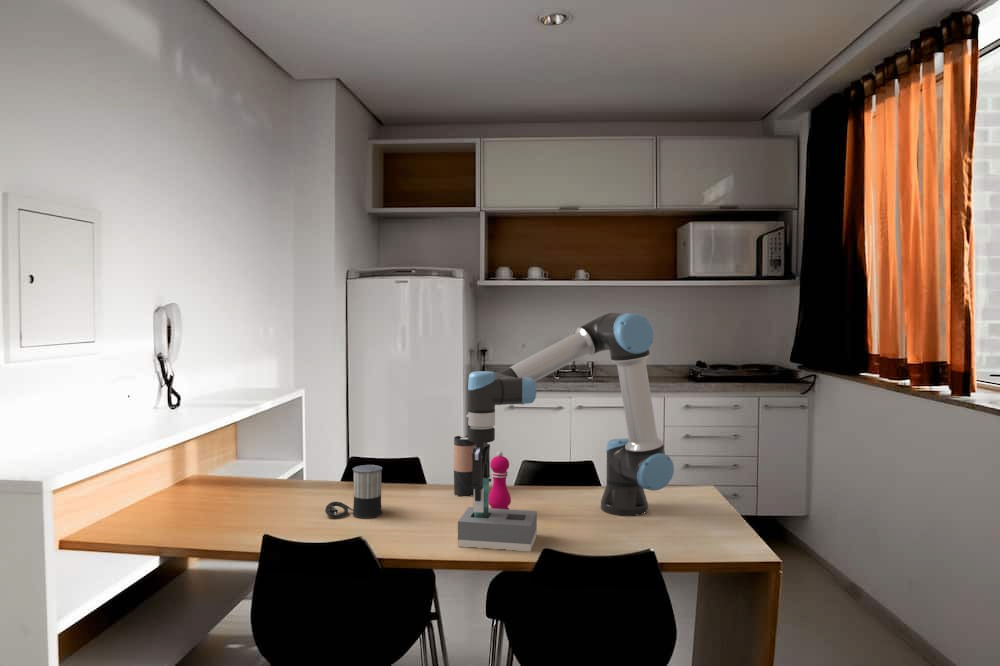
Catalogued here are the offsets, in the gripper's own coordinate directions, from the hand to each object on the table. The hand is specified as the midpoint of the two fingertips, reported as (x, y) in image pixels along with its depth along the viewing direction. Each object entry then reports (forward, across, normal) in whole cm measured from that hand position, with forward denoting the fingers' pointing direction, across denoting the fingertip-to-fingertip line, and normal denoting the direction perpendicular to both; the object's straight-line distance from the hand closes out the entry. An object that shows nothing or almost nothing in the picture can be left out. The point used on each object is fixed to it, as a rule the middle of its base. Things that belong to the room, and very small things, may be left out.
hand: (480, 508), depth 197 cm
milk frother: (+9, -15, -44) cm, 47 cm away
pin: (+7, 0, 0) cm, 7 cm away
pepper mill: (+9, -25, +1) cm, 27 cm away
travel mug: (+9, -46, -15) cm, 49 cm away
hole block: (+9, 0, +5) cm, 10 cm away
